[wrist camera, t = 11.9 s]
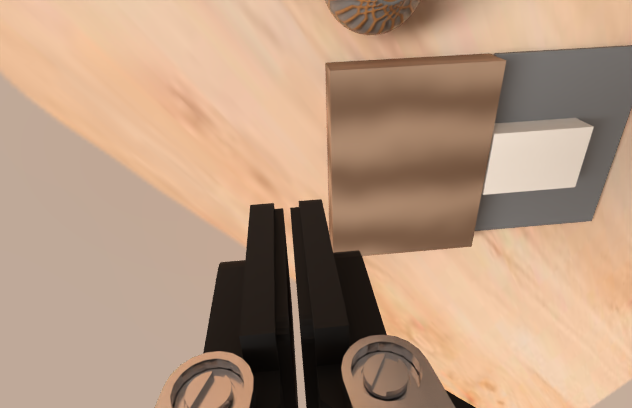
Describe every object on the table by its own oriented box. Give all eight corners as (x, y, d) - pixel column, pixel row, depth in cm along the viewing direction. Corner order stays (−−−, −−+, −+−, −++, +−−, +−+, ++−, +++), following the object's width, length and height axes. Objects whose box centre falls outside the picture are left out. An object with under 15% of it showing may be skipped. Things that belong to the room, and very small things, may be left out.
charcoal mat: (494, 53, 35) (497, 54, 35) (649, 44, 36) (653, 45, 36) (464, 229, 44) (465, 231, 44) (589, 219, 45) (591, 221, 45)
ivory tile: (481, 124, 38) (494, 133, 36) (575, 117, 38) (593, 126, 36) (472, 182, 41) (483, 194, 39) (559, 175, 41) (575, 187, 39)
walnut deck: (325, 62, 34) (329, 70, 32) (489, 53, 35) (506, 60, 32) (329, 241, 43) (333, 258, 41) (459, 230, 44) (471, 246, 42)
